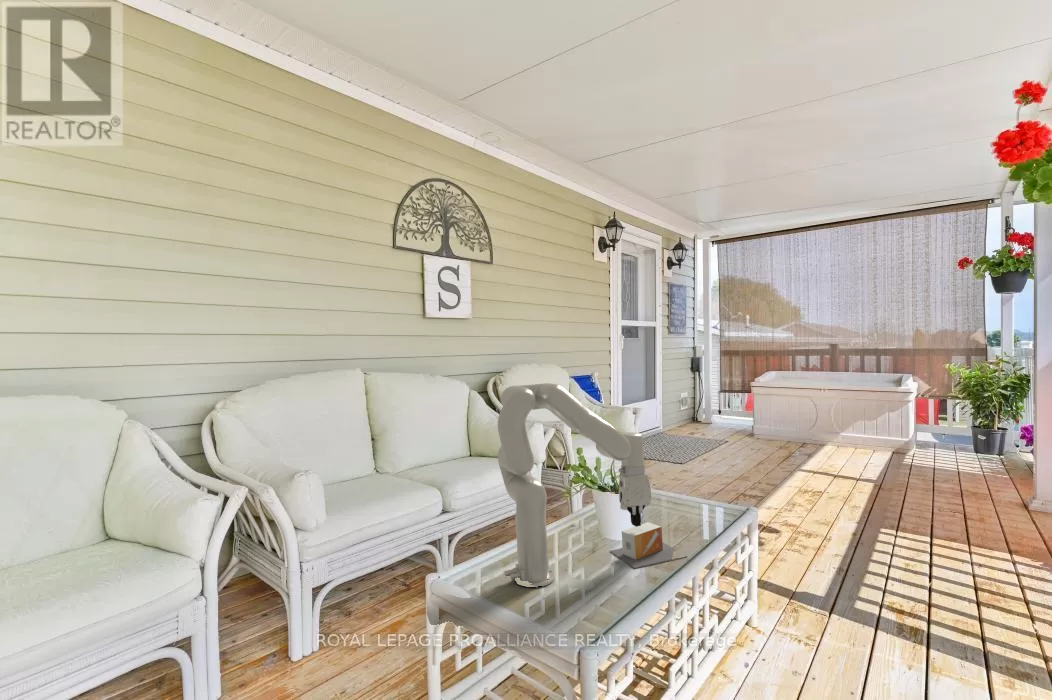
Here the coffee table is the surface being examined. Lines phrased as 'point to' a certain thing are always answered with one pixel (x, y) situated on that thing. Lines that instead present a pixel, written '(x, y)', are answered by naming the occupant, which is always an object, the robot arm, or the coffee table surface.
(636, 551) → the small box
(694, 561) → the coffee table surface
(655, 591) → the coffee table surface
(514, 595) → the coffee table surface
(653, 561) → the mat
